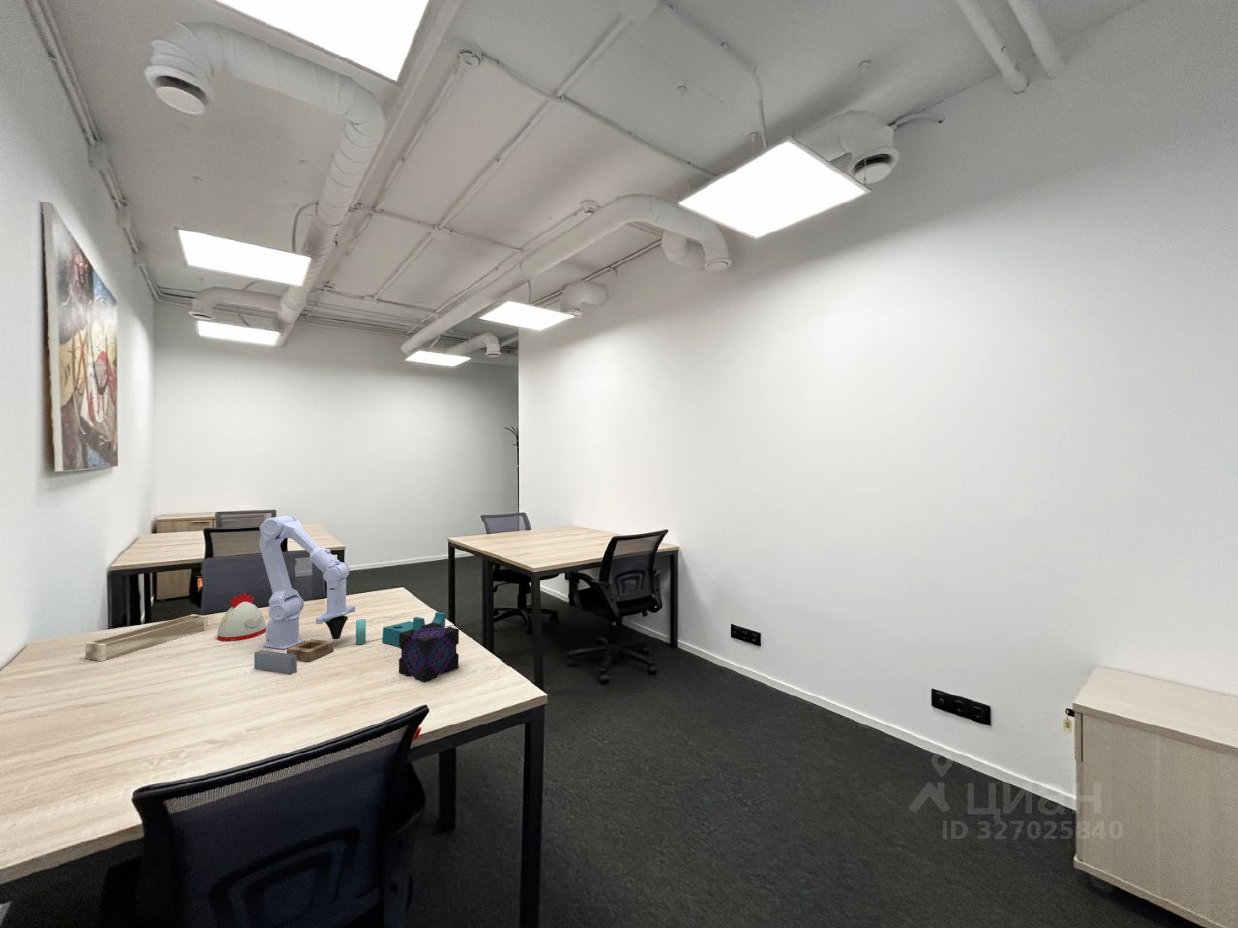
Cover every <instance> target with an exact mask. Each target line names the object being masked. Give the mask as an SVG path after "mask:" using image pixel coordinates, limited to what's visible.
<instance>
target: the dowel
mask: <svg viewBox="0 0 1238 928" xmlns="http://www.w3.org/2000/svg"><path fill="white" fill-rule="evenodd" d="M366 629H367V619H365V618H361V619H357V620H356V622H355V645H356V646H362V645H365V644H366V642H367V641H366V639H367V635H366V634H367V633H366V632H367V630H366Z"/></svg>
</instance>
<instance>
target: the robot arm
mask: <svg viewBox="0 0 1238 928" xmlns="http://www.w3.org/2000/svg"><path fill="white" fill-rule="evenodd" d="M259 531H260V537H259V542H258V545H259V549H260V553H261V556H262V560H263V563H264V566H265V567H264V568H265V569H266V575H267V577H268V581H269V584H270V585H269V586H270V588H271V592H272V595H271V597H270V598H269V600H268V605H269V606H268V607H269V608H268V615H269V617H270V620H269V621H268V622H267V623H266V632H265V644H263V645H262V646H263V647H265V648H273V649H280V650H287V649H288V648H291V647H293V646H296V645H298V644H301V643H303V642H306V639H302V638H300V613H301V612H302V610H303V609H304V606H305V603H304V599H303V598H302V597H301V596H300V595H299V592H298V590H296V589H294V588H293V586H292V585H291V584H292V583H291V581H290V576H289V572H288V570H287V565H286V561H285V558H284V555H283V551H282V548H281V544H282V542H283V541H284V540H285V539H290V540H291V539H292V540H293V541H294V542H296V543H297V544H298V545H299V546H300V547H301V548H302V549H303V550H304V551H306V552H307V554H309V560H310V562H312V563H313V564H314V565H315V566H316V568H318V570H320V571H321V572H322V574H323V575H322V577H323V580H324V581H325V582H326V612H325V613H323V614H322V615H320V616H318V617H315V625H323V624H324V623H325V625H326V626H327V628H328V629H329V633H330V636H331V639H332V640H339V639H341V636H342V632H343V628H344V626H345V625H346V623H347V622H348V620H349V617H348V614H350V613H355V612H356V606H355V605H349V606H347V577H348V576H349V575H350V570H351V569H350V567H349V566H348V564H347V563H346V562H341V561H340V560H339V559H337V558H336V557H335V556H334V555H333V554H332V553H331V549H329V548H326V547H320V546H319V545H318V544H317V543H316V542H315V541H314V539H313V538H312V537H311V536H310V535H309V533H307V531H306V530H305V529H304V528H303V526H302V523H301V522H300V521H299V520H297V518H296V516H294V515H291V514H286V515H282V516H277V517H268V518H266V519H265V520H264V521H262V523H261V525H260V526H259Z"/></svg>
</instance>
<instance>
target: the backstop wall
mask: <svg viewBox="0 0 1238 928" xmlns="http://www.w3.org/2000/svg"><path fill="white" fill-rule="evenodd" d="M253 656H254V658H253V659H254V660H253V661H254V663H253V669H254V670H259V671H266V672H271V673H277V674H285V675H293V674H295V673H297V671H298V668H297V666H298V660H297V655H293V654H287V652H286V653H284V652H279V651H271V650H263V649H260V650H257V651H254V655H253Z"/></svg>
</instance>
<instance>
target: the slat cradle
mask: <svg viewBox="0 0 1238 928" xmlns="http://www.w3.org/2000/svg"><path fill="white" fill-rule="evenodd" d="M208 616H209V615H201V614H189V615H186V616H185V615H184V616H182V617H178V618H174V619H170V620H166V621H162V622H159V623H156V624H152V625H147V626H145V627H140V628H137V629H133V630H128V631H125V632H121V633H117V634H113V635H110V636H106V637H102V638H99V639H95V640H92V641H88V642H87V641H86V642H85V644H84V645H85V648H84V649H85V655H84V656H85V658H88V659H87V660H89V659H94V660H93V661H95V660H98V661H97V662H104V661H103V660H105V661H107V659H108V660H110V658H111V659H115V658H117V656H118V657H121V656H125V655H129V654H131V653H134V651H135V652H137V651H138V652H139V651H140V650H141V651H142V650H144V649H147V648H151V647H154V646H157V645H161V644H164V643H168V642H170V640H171V641H173V639H174V640H177V639H176V638H178V639H180V637H181V638H184V637H188V636H192V635H194V634H197V633H200V632H201V633H202V632H204V631H207V630H208ZM183 636H184V637H183ZM167 641H168V642H167ZM124 654H125V655H124ZM120 655H121V656H120ZM114 657H115V658H114Z"/></svg>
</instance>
